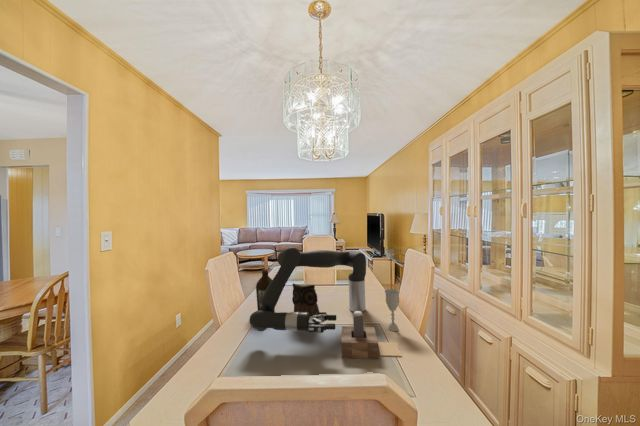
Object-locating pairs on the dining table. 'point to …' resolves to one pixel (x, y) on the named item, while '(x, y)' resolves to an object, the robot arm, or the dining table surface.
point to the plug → (358, 324)
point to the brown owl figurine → (305, 298)
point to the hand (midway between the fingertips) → (335, 321)
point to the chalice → (392, 305)
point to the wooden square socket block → (359, 344)
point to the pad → (389, 349)
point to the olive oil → (262, 287)
